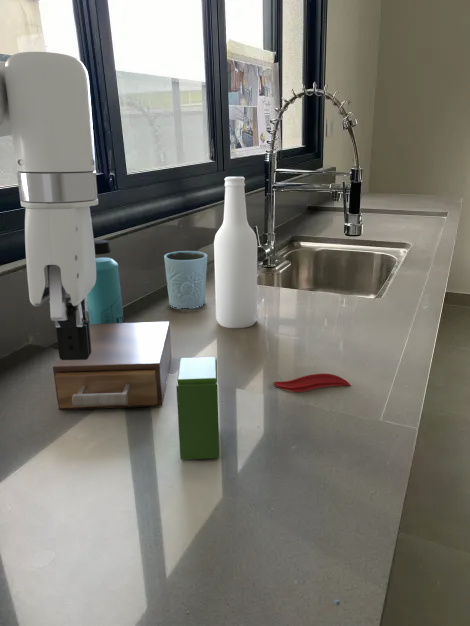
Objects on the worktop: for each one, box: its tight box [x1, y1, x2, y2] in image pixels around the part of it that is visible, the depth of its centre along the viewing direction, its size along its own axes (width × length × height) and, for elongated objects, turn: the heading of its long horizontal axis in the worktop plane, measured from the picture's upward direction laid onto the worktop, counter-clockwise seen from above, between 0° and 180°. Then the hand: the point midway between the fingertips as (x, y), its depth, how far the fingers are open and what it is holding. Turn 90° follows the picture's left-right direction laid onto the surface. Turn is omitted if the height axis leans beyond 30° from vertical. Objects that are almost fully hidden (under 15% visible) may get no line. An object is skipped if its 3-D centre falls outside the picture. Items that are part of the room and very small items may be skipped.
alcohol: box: [213, 176, 258, 329], centre depth 101 cm, size 9×9×30 cm
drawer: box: [55, 369, 158, 408], centre depth 75 cm, size 21×14×5 cm, turn 3°
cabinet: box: [52, 321, 172, 411], centre depth 79 cm, size 18×15×7 cm
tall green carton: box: [175, 356, 220, 460], centre depth 61 cm, size 5×8×10 cm, turn 3°
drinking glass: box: [163, 250, 208, 310], centre depth 117 cm, size 10×10×12 cm
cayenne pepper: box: [272, 373, 351, 393], centre depth 77 cm, size 12×5×2 cm, turn 81°
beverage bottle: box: [87, 239, 126, 324], centre depth 92 cm, size 6×7×20 cm
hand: (75, 356), depth 56 cm, fingers closed
